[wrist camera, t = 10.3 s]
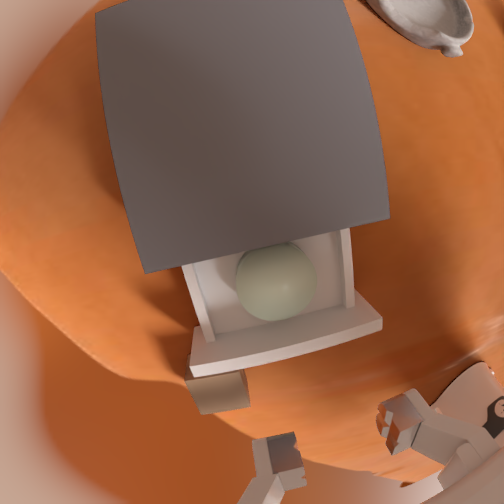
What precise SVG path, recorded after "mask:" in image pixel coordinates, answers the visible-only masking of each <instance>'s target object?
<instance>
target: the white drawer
mask: <svg viewBox="0 0 504 504" xmlns="http://www.w3.org/2000/svg"><path fill="white" fill-rule="evenodd" d="M289 242H292V243H293V244H295V245H297V246H298V247H299V248H300V249H301V250H302V251H303V252H304V253H305V255H306V256H307V257H308V258H309V260H310V261H311V262H312V264H313V266H314V268H315V271H316V274H317V287H316V291H315V294H314V296H313V298H312V300H311V302H310V303H309V304H308V305H307V307H306V308H305V309H304V310H302V311H301V312H300V313H298V314H297V315H295V316H293V317H291V318H288V319H285V320H280V321H267V320H263V319H259V318H257V317H255V316H253V315H252V314H250V313H249V312H248V311H246V309H245V308H244V307H243V306H242V304H241V303H240V301H239V298H238V295H237V289H236V268H237V264H238V262H239V260H240V258H241V257H242V255H243V254H244V253H245V252H246V251H244V252H240V253H236V254H231V255H227V256H222V257H218V258H214V259H209V260H205V261H201V262H196V263H192V264H187V265H183V266H181V267H182V270H183V273H184V276H185V280H186V283H187V286H188V289H189V292H190V295H191V299H192V302H193V305H194V308H195V311H196V314H197V317H198V320H199V323H200V325H201V326H196V327H194V333H193V341H192V349H191V357H190V365H189V367H190V369H191V371H192V374H193V376H194V377H200V376H206V375H212V374H218V373H223V372H229V371H234V370H239V369H244V368H249V367H253V366H258V365H262V364H267V363H271V362H275V361H280V360H284V359H288V358H292V357H295V356H299V355H303V354H307V353H310V352H314V351H317V350H321V349H324V348H328V347H331V346H334V345H338V344H341V343H344V342H347V341H350V340H353V339H356V338H360V337H362V336H365V335H368V334H371V333H374V332H377V331H380V330H382V325H383V317H382V316H381V315H380V314H379V313H378V312H377V311H376V310H375V309H374V308H373V307H372V306H371V305H370V304H369V303H368V302H367V301H366V300H365V299H364V298H363V297H362V296H361V295H360V294H359V293H358V292H357V290H356V289H355V288H354V276H353V261H352V249H351V238H350V228H346V229H342V230H337V231H333V232H329V233H324V234H320V235H315V236H311V237H306V238H302V239H297V240H293V241H289Z"/></svg>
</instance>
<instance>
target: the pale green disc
mask: <svg viewBox="0 0 504 504" xmlns="http://www.w3.org/2000/svg"><path fill="white" fill-rule="evenodd" d="M316 287H317V274H316V271H315V268H314V266H313V264H312V262H311V261H310V260H309V258H308V257H307V256H306V255H305V253H304V252H303V251H302V250H301V249H300V248H299V247H298V246H297V245H295V244H293V243H292V242H284V243H280V244H275V245H271V246H267V247H262V248H258V249H253V250H249V251H246V252H245V253H244V254H243V255H242V257H241V258H240V260H239V262H238V264H237V268H236V289H237V295H238V298H239V301H240V303H241V304H242V306H243V307H244V308H245V309H246V311H248V312H249V313H250V314H252V315H253V316H255V317H257V318H259V319H263V320H267V321H280V320H285V319H288V318H291V317H293V316H295V315H297V314H298V313H300V312H301V311H302V310H304V309H305V308H306V307H307V305H308V304H309V303H310V302H311V300H312V298H313V296H314V294H315V291H316Z"/></svg>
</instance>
